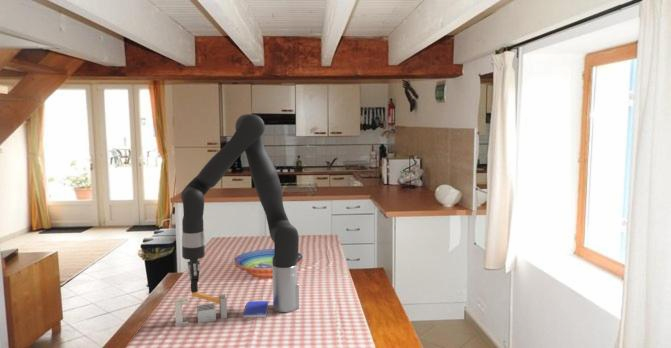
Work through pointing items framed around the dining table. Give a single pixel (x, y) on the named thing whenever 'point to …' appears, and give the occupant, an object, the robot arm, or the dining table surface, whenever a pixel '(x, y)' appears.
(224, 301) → the board
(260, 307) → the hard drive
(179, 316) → the block
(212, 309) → the heatsink
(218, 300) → the orange bar
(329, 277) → the dining table surface
